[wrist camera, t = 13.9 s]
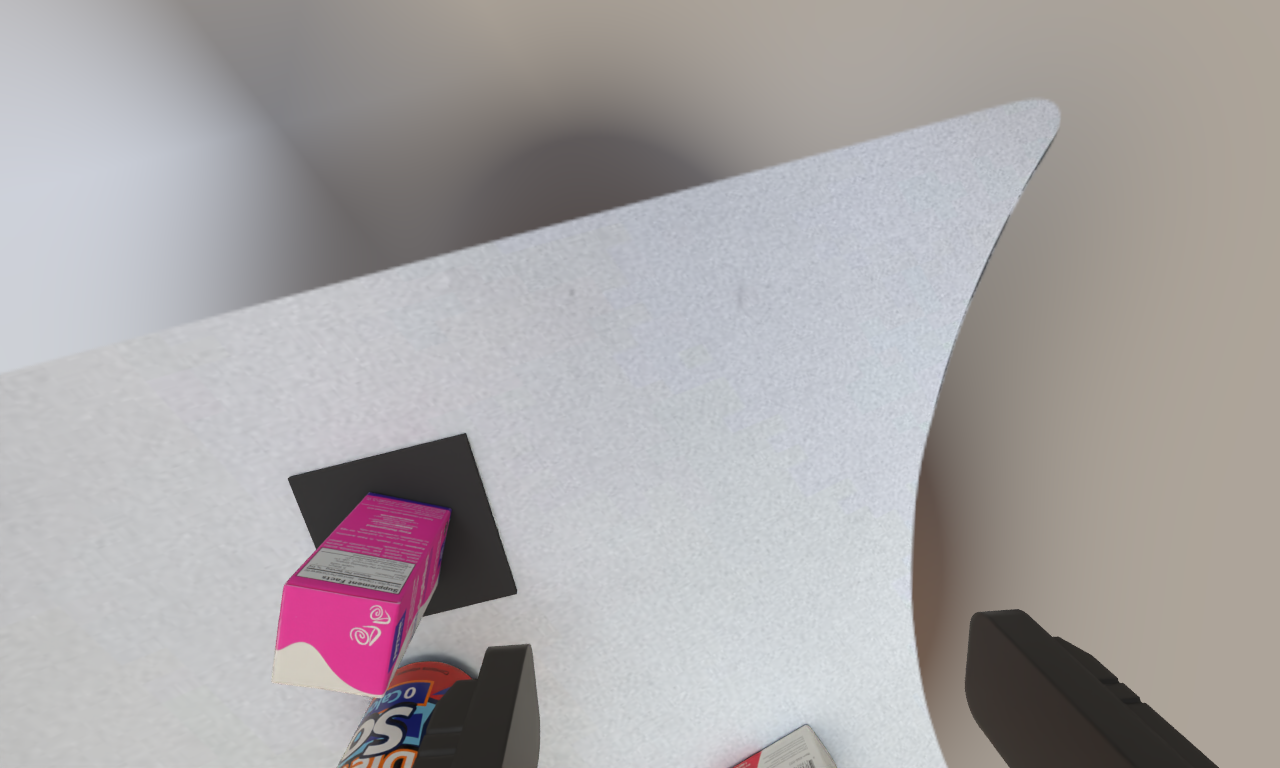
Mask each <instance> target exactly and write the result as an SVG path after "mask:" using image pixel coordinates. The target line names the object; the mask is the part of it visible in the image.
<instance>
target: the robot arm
mask: <svg viewBox="0 0 1280 768" xmlns="http://www.w3.org/2000/svg"><path fill="white" fill-rule="evenodd" d="M965 692H966V698H967V702H968V705H969V708H970V711H971V713H972V715H973V717H974V719H975V721H976V723H977V724H978V725H979V727H980V728H981V730H982V731H983V732H984V734H985V735H986V736H987V737H988V739H989V740H990V742H991V743H992V744H993V746H994V747H995V748H996V750H997V751H998V752H999V754H1000V755H1001V757H1002V758H1003V759H1004V761H1005V762H1006V763H1007V764H1008V766H1009V767H1010V768H1219V767H1218V766H1217V765H1215V764H1214V763H1213V762H1212V761H1211V760H1209V758H1207V757H1206V756H1205V755H1204V754H1203V753H1202V752H1201V751H1200V750H1198V749H1197V748H1196V747H1195V746H1194V745H1193V744H1192V743H1191V742H1189V741H1188V740H1187V739H1186V738H1185V737H1184V736H1183V735H1181V734H1180V733H1179V732H1178V731H1177V730H1176V729H1174V727H1172V726H1171V725H1170V724H1169V723H1168V722H1167V721H1166V720H1164V719H1163V718H1162V717H1161V716H1160V715H1159V714H1158V713H1157V712H1155V711H1154V710H1153V709H1152V708H1151V707H1150V706H1149V705H1147V704H1146V703H1142V702H1141V701H1140V697H1138V696H1137V695H1136V694H1135V693H1134V692H1133V691H1132V690H1131V689H1129V688H1128V687H1127V686H1126V685H1125V684H1124V683H1119V681H1118V678H1117V677H1116V676H1115V675H1114V674H1112V673H1111V672H1110V671H1109V670H1108V669H1107V668H1106V667H1104V666H1103V665H1102V664H1101V663H1100V662H1099V661H1098V660H1097V659H1095V658H1094V657H1093V656H1092V655H1090V654H1089V653H1087V652H1084V651H1083V650H1081V649H1080V648H1078V647H1076V646H1074V645H1072V644H1071V643H1069V642H1067V641H1065V640H1063V639H1062V638H1060V637H1052V636H1051V635H1049V634H1048V633H1047V632H1046V631H1045V630H1044V629H1043V628H1042V627H1041V626H1040V625H1039V624H1037V622H1035V621H1034V620H1033V619H1032V618H1031V617H1030V616H1029V615H1028V614H1027V613H1025V612H1024V611H1022V610H1019V609H1015V610H1001V611H987V612H977V613H975V614H974V615H973V616H972V618H971V621H970V630H969V642H968V654H967V665H966V677H965ZM539 749H540V716H539V706H538V698H537V689H536V680H535V671H534V662H533V653H532V648H531V645H530V644H522V645H508V646H495V647H488V648H487V650H486V653H485V656H484V659H483V663H482V666H481V669H480V672H479V676H478V679H468V680H457V681H456V682H455V683H454V684H453V685H452V686H451V687H450V688H449V690H448V691H447V692H446V693H445V694H444V695H443V696H442V698H441V699H440V700H439V701H438V702H437V703H436V705H435V708H434V711H433V713H432V716H431V719H430V721H429V724H428V727H427V729H426V735H424V737H423V740H422V742H421V745H420V748H419V750H418V757H417V758H415V761H414V764H413V766H412V768H537V766H538V759H539Z"/></svg>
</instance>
